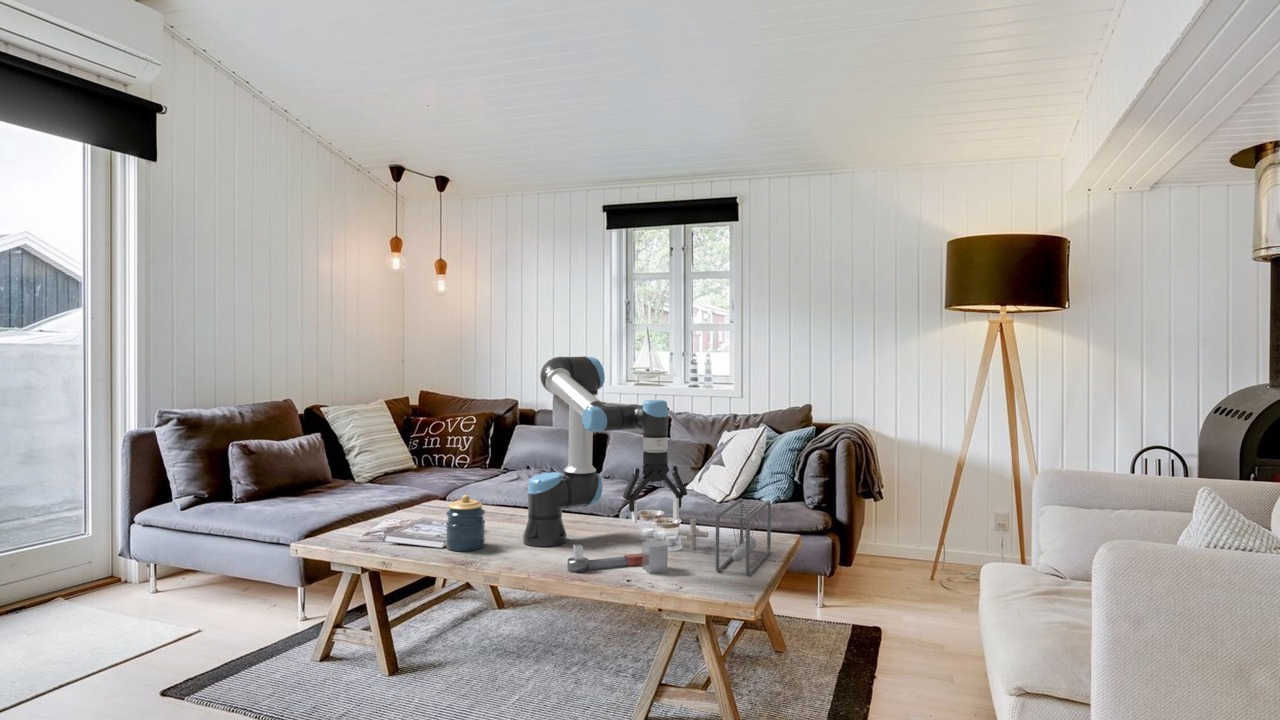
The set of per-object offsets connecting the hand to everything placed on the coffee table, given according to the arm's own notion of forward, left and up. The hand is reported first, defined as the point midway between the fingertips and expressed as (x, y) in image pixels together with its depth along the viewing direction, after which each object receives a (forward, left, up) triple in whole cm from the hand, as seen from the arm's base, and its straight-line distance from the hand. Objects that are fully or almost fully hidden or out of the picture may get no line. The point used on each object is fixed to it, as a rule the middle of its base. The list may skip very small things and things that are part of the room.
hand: (655, 520), depth 224 cm
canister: (-46, -51, -15) cm, 71 cm away
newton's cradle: (+2, +30, -16) cm, 34 cm away
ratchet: (-8, -12, -15) cm, 21 cm away
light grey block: (0, 0, -15) cm, 15 cm away
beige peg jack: (-18, +21, -15) cm, 32 cm away
